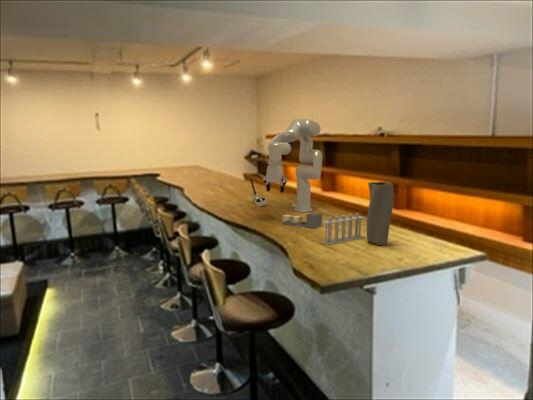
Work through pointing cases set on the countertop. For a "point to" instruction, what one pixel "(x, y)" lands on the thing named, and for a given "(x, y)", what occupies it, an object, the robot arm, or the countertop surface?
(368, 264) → the countertop surface
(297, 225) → the guide channel
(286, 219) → the beige rectangular block
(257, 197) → the butterfly valve
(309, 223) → the end cap
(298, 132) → the robot arm
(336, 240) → the test tube rack
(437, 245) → the countertop surface
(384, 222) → the vase
